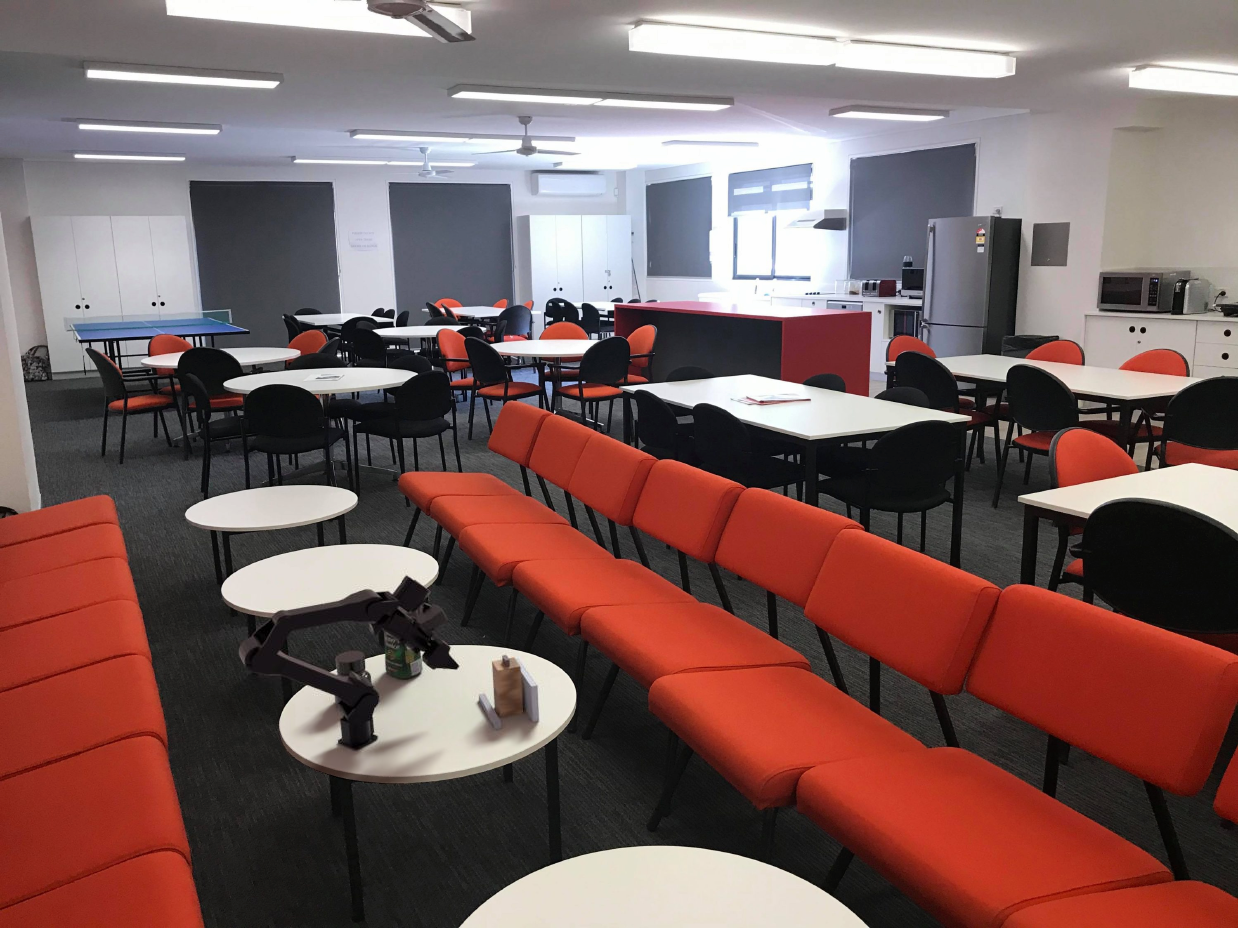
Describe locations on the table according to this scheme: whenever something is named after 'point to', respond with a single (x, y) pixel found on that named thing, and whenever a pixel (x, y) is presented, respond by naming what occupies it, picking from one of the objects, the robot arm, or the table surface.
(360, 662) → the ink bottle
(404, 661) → the coffee jar
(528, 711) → the wall dock
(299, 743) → the table surface
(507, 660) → the tan upright block
